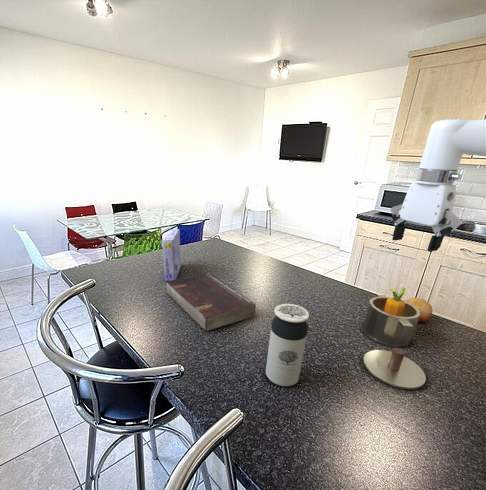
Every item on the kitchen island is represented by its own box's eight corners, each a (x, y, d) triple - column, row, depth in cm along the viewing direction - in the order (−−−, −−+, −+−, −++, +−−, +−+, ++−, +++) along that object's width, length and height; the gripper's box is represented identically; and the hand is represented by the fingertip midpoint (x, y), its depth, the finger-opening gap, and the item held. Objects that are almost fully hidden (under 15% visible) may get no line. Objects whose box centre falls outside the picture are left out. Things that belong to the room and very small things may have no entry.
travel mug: (269, 360, 76) (276, 300, 69) (300, 369, 74) (311, 307, 66) (262, 381, 69) (270, 316, 62) (296, 391, 67) (309, 324, 60)
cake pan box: (171, 264, 137) (170, 227, 130) (181, 264, 137) (181, 227, 130) (163, 281, 119) (161, 240, 112) (175, 282, 119) (174, 240, 112)
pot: (394, 319, 96) (402, 294, 92) (423, 355, 80) (435, 325, 76) (354, 316, 98) (361, 291, 94) (375, 350, 81) (383, 321, 77)
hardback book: (254, 315, 97) (256, 302, 95) (206, 332, 87) (206, 318, 85) (209, 283, 119) (209, 271, 117) (166, 293, 110) (166, 281, 108)
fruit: (427, 310, 99) (435, 297, 93) (425, 330, 96) (433, 318, 90) (400, 304, 103) (406, 291, 97) (397, 322, 99) (403, 310, 93)
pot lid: (407, 356, 79) (414, 337, 77) (436, 394, 67) (445, 373, 64) (355, 351, 81) (360, 332, 78) (373, 387, 68) (380, 366, 66)
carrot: (379, 335, 87) (393, 291, 81) (375, 326, 91) (388, 283, 85) (398, 338, 86) (413, 293, 80) (392, 329, 90) (406, 285, 84)
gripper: (486, 180, 64) (458, 253, 71) (411, 174, 79) (393, 235, 86) (465, 181, 62) (438, 257, 69) (391, 174, 76) (375, 237, 83)
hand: (413, 245), depth 77 cm, fingers open, 9 cm apart
